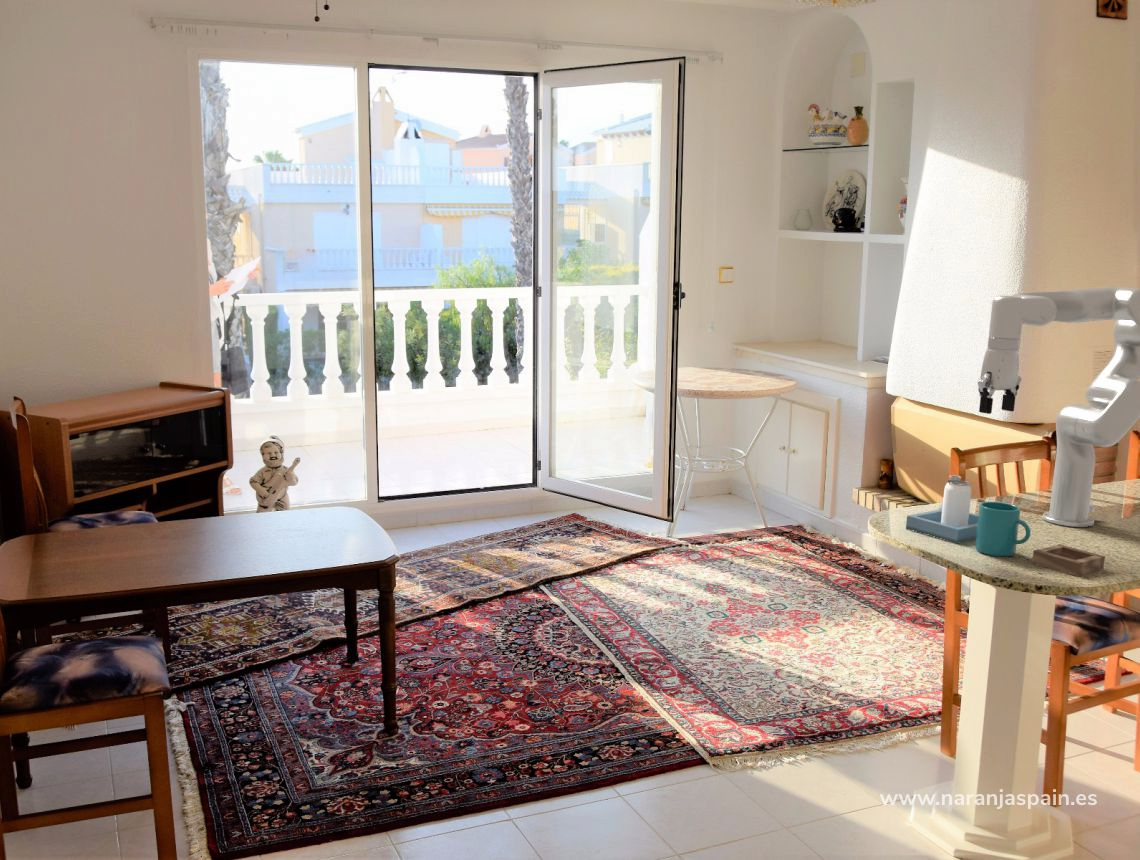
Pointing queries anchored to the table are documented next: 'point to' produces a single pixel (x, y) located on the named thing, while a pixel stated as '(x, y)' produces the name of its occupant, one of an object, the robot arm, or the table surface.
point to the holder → (1068, 560)
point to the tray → (942, 526)
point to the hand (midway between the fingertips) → (996, 411)
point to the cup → (999, 529)
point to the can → (956, 503)
